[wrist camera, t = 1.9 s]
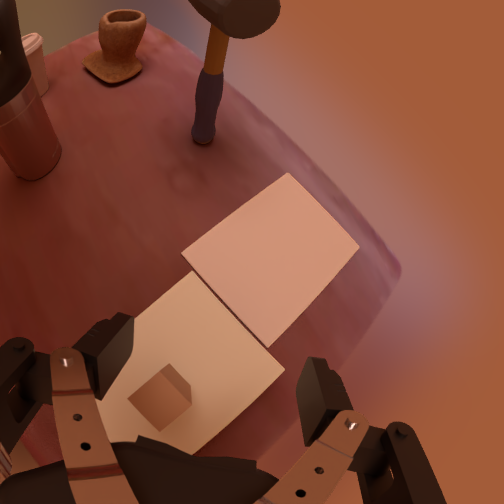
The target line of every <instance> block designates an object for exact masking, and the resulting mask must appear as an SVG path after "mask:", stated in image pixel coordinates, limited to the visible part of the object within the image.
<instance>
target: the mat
mask: <svg viewBox="0 0 504 504" xmlns="http://www.w3.org/2000/svg"><path fill="white" fill-rule="evenodd" d="M358 249H359V246H358V244H357V243H356V242H355V241H354V240H353V239H352V238H351V237H350V236H349V234H348V233H347V232H346V231H345V230H344V229H343V228H342V227H341V226H340V225H339V224H338V223H337V222H336V220H335V219H334V218H333V217H332V216H331V215H330V214H329V213H328V212H327V211H326V210H325V209H324V208H323V207H322V206H321V205H320V204H319V203H318V202H317V201H316V200H315V199H314V198H313V197H312V196H311V195H310V194H309V193H308V192H307V191H306V190H305V189H304V188H303V187H302V186H301V185H300V184H299V183H298V182H297V181H296V180H295V179H294V178H293V177H292V176H291V175H290V174H289V173H286V174H285V175H283V176H282V177H281V178H279V179H278V180H277V181H275V182H274V183H272V184H271V185H270V186H268V187H267V188H266V189H264V190H263V191H261V192H260V193H259V194H257V195H256V196H255V197H253V198H252V199H251V200H249V201H248V202H247V203H245V204H244V205H243V206H241V207H240V208H239V209H237V210H236V211H235V212H233V213H232V214H231V215H229V216H228V217H227V218H225V219H224V220H223V221H221V222H220V223H219V224H217V225H216V226H215V227H214V228H212V229H211V230H210V231H208V232H207V233H206V234H204V235H203V236H202V237H201V238H199V239H198V240H197V241H196V242H194V243H193V244H192V245H190V246H189V247H188V248H187V249H185V250H184V251H183V252H182V253H181V255H182V256H183V257H184V258H185V259H186V260H187V261H188V263H189V264H190V265H191V266H192V267H193V268H194V269H195V271H196V272H197V273H198V274H199V275H200V276H201V277H202V279H203V280H204V281H205V282H206V283H207V284H208V285H209V286H210V287H211V289H212V290H213V291H214V292H215V293H216V294H217V295H218V296H219V297H220V298H221V300H222V301H223V302H224V303H225V304H226V305H227V306H228V307H229V308H230V309H231V310H232V312H233V313H234V314H235V315H236V316H237V317H238V318H239V319H240V320H241V321H242V322H243V323H244V324H245V325H246V326H247V327H248V329H249V330H250V331H251V332H252V333H253V334H254V335H255V336H256V337H257V338H258V339H259V340H260V341H261V342H262V343H263V344H264V345H265V346H266V347H267V348H268V347H269V346H270V345H271V344H272V343H273V342H274V341H275V340H276V339H277V338H278V337H279V336H280V335H281V334H282V333H283V332H284V331H285V330H286V329H287V328H288V327H289V326H290V325H291V324H292V323H293V322H294V321H295V320H296V319H297V318H298V316H299V315H300V314H301V313H302V312H303V311H304V310H305V309H306V308H307V307H308V306H309V305H310V304H311V302H312V301H313V300H314V299H315V298H316V297H317V296H318V295H319V294H320V293H321V291H322V290H323V289H324V288H325V287H326V286H327V285H328V284H329V282H330V281H331V280H332V279H333V278H334V277H335V276H336V275H337V273H338V272H339V271H340V270H341V269H342V268H343V266H344V265H345V264H346V263H347V262H348V261H349V259H350V258H351V257H352V256H353V255H354V253H355V252H356V251H357V250H358Z"/></svg>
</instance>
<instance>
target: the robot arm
mask: <svg viewBox="0 0 504 504" xmlns="http://www.w3.org/2000/svg"><path fill="white" fill-rule="evenodd" d="M0 51H1V54H0V154H1V156H2V157H3V158H4V160H5V161H6V163H7V164H8V166H9V167H10V168H11V170H12V171H13V172H14V174H15V175H16V177H22V178H24V179H25V180H36V179H39V178H41V177H43V176H44V175H46V174H47V173H48V172H50V171H51V170H52V169H53V168H54V166H55V165H56V163H57V162H58V160H59V158H60V155H61V145H60V143H59V141H58V138H57V136H56V134H55V132H54V129H53V127H52V125H51V122H50V120H49V117H48V115H47V112H46V110H45V107H44V105H43V102H42V100H41V97H40V94H39V92H38V89H37V86H36V84H35V81H34V78H33V75H32V72H31V69H30V66H29V63H28V60H27V58H26V55H25V51H24V48H23V44H22V39H21V34H20V29H19V22H18V15H17V9H16V2H15V0H0ZM133 344H134V317H133V316H130V315H127V314H123V313H120V312H118V313H117V314H116V315H115V316H114V317H113V318H112V319H111V320H108V319H104V320H102V321H99V322H97V323H96V324H95V325H94V326H93V327H92V328H91V329H90V330H89V331H88V332H87V334H85V335H84V336H83V337H82V338H81V339H80V340H79V341H78V342H77V343H76V344H75V345H74V346H73V347H72V348H69V347H62V348H58V349H56V350H54V351H53V352H52V353H51V355H50V354H45V353H40V352H36V351H35V350H34V345H33V343H32V342H31V341H30V340H28V339H26V338H23V337H16V338H12V339H10V340H8V341H7V342H6V343H5V344H4V345H2V346H1V347H0V504H324V503H325V502H326V500H327V499H328V497H329V496H330V495H331V493H332V492H333V490H334V489H335V487H336V486H337V484H338V483H339V481H340V480H341V478H342V477H343V475H344V473H345V472H346V470H350V471H354V472H357V476H358V481H359V485H360V490H361V494H362V499H363V504H447V503H446V501H445V499H444V496H443V494H442V491H441V489H440V486H439V484H438V482H437V479H436V477H435V475H434V473H433V470H432V468H431V466H430V463H429V461H428V459H427V457H426V455H425V452H424V450H423V448H422V446H421V444H420V442H419V440H418V438H417V436H416V434H415V431H414V430H413V429H412V428H411V427H410V426H409V425H407V424H405V423H403V422H393V423H390V424H389V425H388V427H387V428H386V429H381V428H377V427H373V426H369V422H368V420H367V419H366V418H365V417H364V416H363V415H362V414H360V413H359V412H356V411H354V410H353V407H352V405H351V402H350V399H349V397H348V395H347V393H346V390H345V387H344V386H343V382H342V380H341V377H340V376H339V375H338V374H337V373H336V372H335V371H334V370H330V369H329V367H328V364H327V361H326V359H324V358H317V357H308V359H307V361H306V363H305V366H304V368H303V370H302V373H301V375H300V378H299V380H298V383H297V387H296V397H297V403H298V409H299V414H300V420H301V426H302V432H303V437H304V444H305V446H307V447H309V448H308V450H307V451H306V452H305V453H304V454H303V455H302V457H301V458H300V459H299V460H298V461H297V462H296V463H295V464H294V465H293V467H292V468H291V469H290V470H289V471H288V472H287V473H286V474H285V475H284V476H283V477H282V478H281V479H280V480H279V479H277V478H276V477H274V476H273V475H271V474H269V473H267V472H264V471H262V470H259V469H256V461H255V460H247V459H239V458H233V457H196V456H193V455H190V454H188V453H186V452H184V451H182V450H179V449H177V448H175V447H173V446H171V445H169V444H167V443H164V442H160V441H157V440H153V439H150V438H147V437H144V436H141V435H138V437H137V440H136V442H131V441H121V442H112V443H110V442H109V439H108V436H107V434H106V431H105V428H104V425H103V422H102V419H101V416H100V413H99V410H98V407H97V403H96V400H95V399H98V400H100V401H102V399H103V398H104V396H105V395H106V393H107V392H108V390H109V388H110V387H111V385H112V384H113V382H114V381H115V379H116V378H117V376H118V375H119V373H120V372H121V370H122V368H123V367H124V365H125V364H126V362H127V361H128V359H129V358H130V356H131V354H132V351H133ZM14 385H15V387H14V388H13V389H12V390H11V388H12V387H13V386H14ZM10 390H11V392H10V393H9V391H10ZM8 393H9V394H8ZM43 403H46V404H50V405H53V408H54V415H55V421H56V426H57V431H58V436H59V441H60V446H61V450H62V454H63V458H64V460H61V461H58V462H55V463H52V464H49V465H45V466H42V467H39V468H35V469H31V470H28V471H24V472H20V473H17V474H13V475H11V476H10V471H11V468H12V461H11V458H10V456H9V454H10V453H11V451H12V450H13V448H14V446H15V445H16V443H17V442H18V440H19V439H20V437H21V435H22V434H23V432H24V431H25V429H26V428H27V426H28V425H29V423H30V422H31V420H32V419H33V418H34V416H35V415H36V413H37V412H38V410H39V409H40V407H41V406H42V405H43ZM390 469H391V470H392V473H393V477H394V480H393V478H392V474H391V471H390Z"/></svg>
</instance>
